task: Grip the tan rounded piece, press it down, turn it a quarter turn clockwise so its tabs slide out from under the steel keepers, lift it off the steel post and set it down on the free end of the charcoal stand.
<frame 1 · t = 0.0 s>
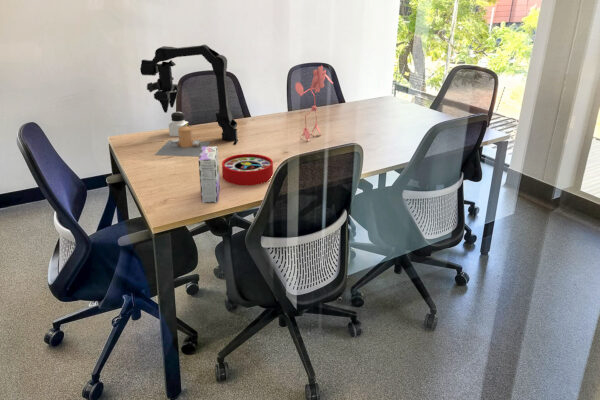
hand: (168, 109, 225), 15 cm above the table, tool pointing down, fingers open, 9 cm apart
tan rounded piece: (186, 145, 220), point 1 cm above the table, touching cap stand
cap stand: (184, 151, 217), on the table
candy box: (211, 195, 175), on the table
toy clock: (248, 176, 193), on the table
medicine bottle: (179, 137, 236), on the table
figurine: (317, 139, 236), on the table
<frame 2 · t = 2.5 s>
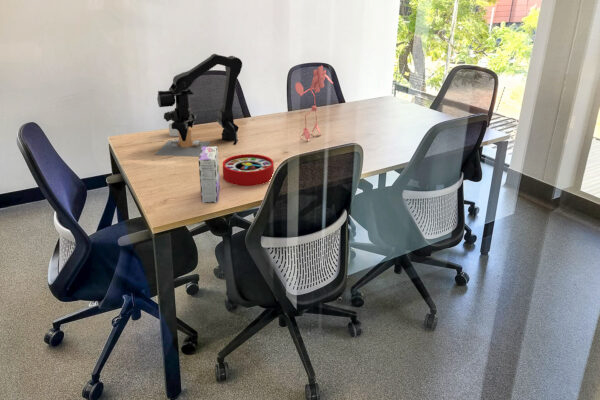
hand: (185, 138, 219), 5 cm above the table, tool pointing down, fingers closed on tan rounded piece, 6 cm apart
tan rounded piece: (186, 145, 220), point 1 cm above the table, touching cap stand, gripper
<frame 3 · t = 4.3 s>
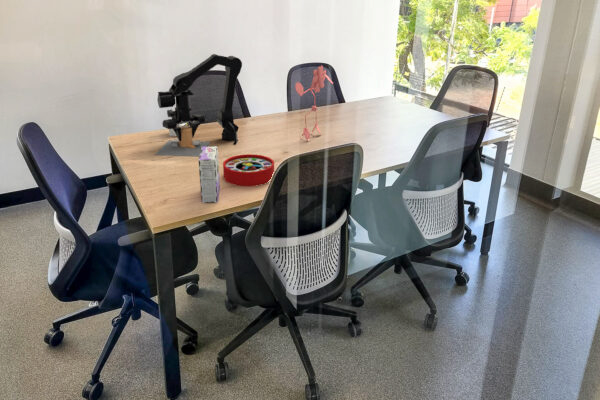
hand: (186, 139, 219), 4 cm above the table, tool pointing down, fingers closed on tan rounded piece, 6 cm apart
tan rounded piece: (186, 145, 220), point 2 cm above the table, touching gripper
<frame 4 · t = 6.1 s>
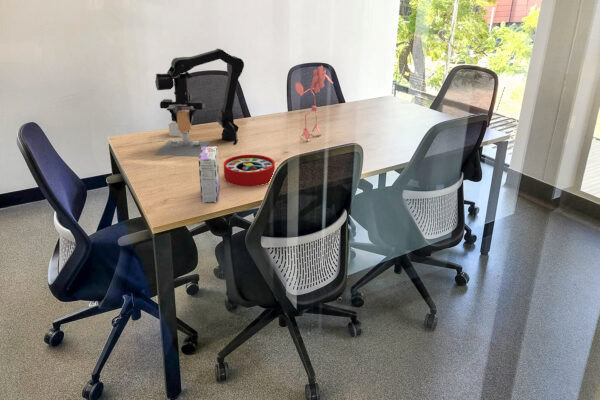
hand: (184, 123, 216), 12 cm above the table, tool pointing down, fingers closed on tan rounded piece, 6 cm apart
tan rounded piece: (184, 129, 217), point 9 cm above the table, touching gripper
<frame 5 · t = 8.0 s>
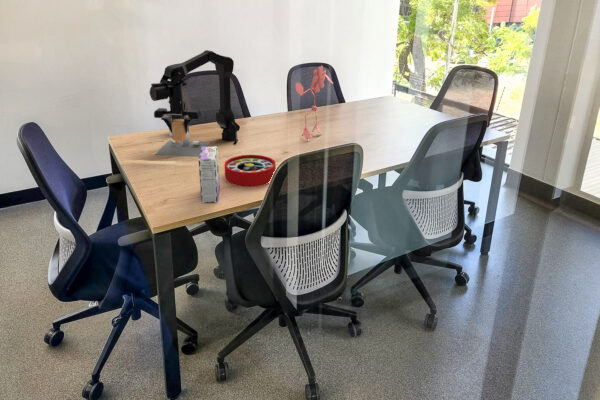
hand: (179, 133, 209), 10 cm above the table, tool pointing down, fingers closed on tan rounded piece, 6 cm apart
tan rounded piece: (179, 138, 210), point 7 cm above the table, touching gripper
when the fingers open (6 cm above the table, at t = 9.5 s): tan rounded piece drops 2 cm, resting on cap stand.
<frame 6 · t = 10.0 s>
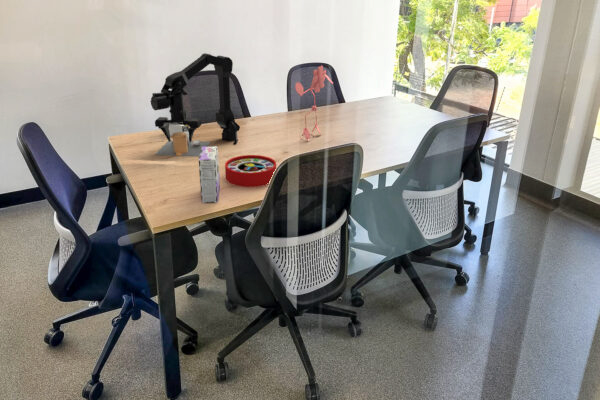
hand: (180, 141, 210), 6 cm above the table, tool pointing down, fingers open, 9 cm apart
tan rounded piece: (181, 151, 212), point 1 cm above the table, touching cap stand
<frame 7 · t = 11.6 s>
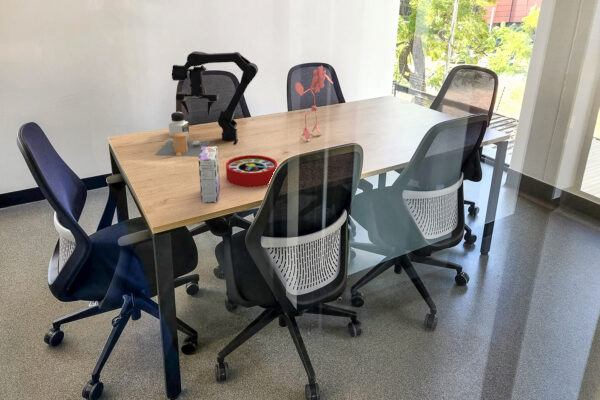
hand: (199, 114, 224), 13 cm above the table, tool pointing down, fingers open, 9 cm apart
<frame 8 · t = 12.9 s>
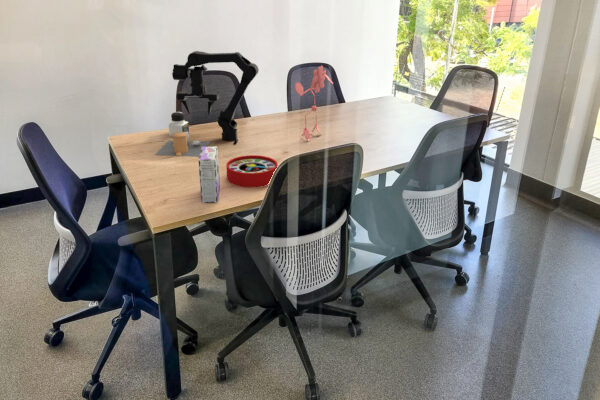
hand: (199, 114, 225), 13 cm above the table, tool pointing down, fingers open, 9 cm apart
at the end: tan rounded piece 0.5 cm from the target spot on the cap stand, point 1.5 cm above the cap stand's base; tan rounded piece tilted 0°; the gripper is holding nothing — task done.
